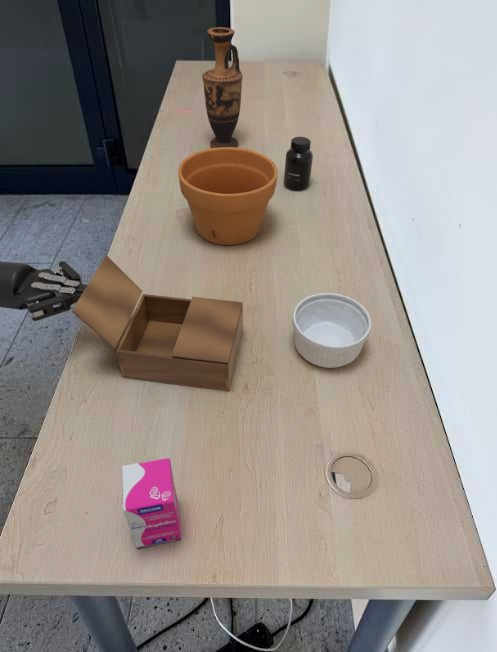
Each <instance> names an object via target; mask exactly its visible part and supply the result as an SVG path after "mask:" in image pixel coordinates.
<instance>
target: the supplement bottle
mask: <svg viewBox="0 0 497 652" xmlns="http://www.w3.org/2000/svg"><path fill="white" fill-rule="evenodd" d="M311 143H312V142H311V139H309V138H308V137H305V136H294V137H293V138H291V140H290V148H288V150H287V151H286V153H285V163H284V174H283V185H284V187H285V188H287V189H288V190H291V191H296V192H301V191H304V190H306V189H308V188H309V187H310V182H311V175H312V168H313V159H314V154H313V152H312V150H311Z"/></svg>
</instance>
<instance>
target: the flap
mask: <svg viewBox="0 0 497 652" xmlns="http://www.w3.org/2000/svg"><path fill="white" fill-rule="evenodd" d="M86 285H87V287H86V288H85V290H84V292H83V293H82V295H81V297H80V298H79V300H78V302H77V303H76V304H74V307H73V308H72V310H71V312H72V313H73V314H74V315H75V316H76V317H77V318H78V319H79V320H81V321H82V322H83V323H84V324H85V325H86V326H87V327H88V328H89V329H91V330H92V332H94V333H95V334H97V335H98V336H99V337H100V338H101V339H103V340H104V341H105V342H106V343H107V344H109V346H111V347H112V348H113V349H117V347H118V345H119V343H120V341H121V338H122V336H123V333H124V332H125V330H126V328H127V326H128V324H129V322H130V320H131V317H132V315H133V313H134V311H135V309H136V307H137V305H138V303H139V301H140V299H141V296H142V293H143V290H142V289H141V287H139V286H138V285H137V284H136V283H135V282H134V281H133V280H132V279H131V278H130V277H129V276H128V275H127V274H126V273H125V272H124V271H123V270H122V268H120V267H119V265H117V264H116V263H115V262H114V261H113V260H112V259H111V258H110V257H109V256H108V255H105V256H104V257H103V259H102V260H101V262H100V264H99V265H98V267H97V269H96V270H95V272H94V273H93V275H92V276H91V278H90V280H89V282H88V284H86Z"/></svg>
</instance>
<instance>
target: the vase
mask: <svg viewBox="0 0 497 652" xmlns="http://www.w3.org/2000/svg"><path fill="white" fill-rule="evenodd" d="M206 33H207V35H208V38H209V40H210V41H211V42H212V43H213V45H214V50H215V54H214V55H215V65H214V67H213V69H209V70H206V71H205V72H203V73H202V75H201V76H202V83H203V93H204V102H205V108H206V110H205V111H206V115H207V119H208V123H209V125H210V128H211V130H212V131H213V134H214V137H213V138H212V139H211V140H210V142H209V147H210V149H211V148H220V147H236V148H239V141H238V139H237V138H236V137H233V134H234V133H235V130H236V127H237V125H238V121H239V117H240V113H241V103H242V90H243V89H242V86H243V73H242V72H241V69H240V59H239V58H240V57H239V51H238V48H237V47H236V45H234V44H232V43H231V42H232V40H233V38H234V36H235V34H236V33H235V30H234V29H232V28H230V27H223V26H220V27H219V26H218V27H210V28H208V29H207V31H206ZM230 53H231V54H232V63H231V67H230Z"/></svg>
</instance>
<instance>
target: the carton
mask: <svg viewBox="0 0 497 652" xmlns="http://www.w3.org/2000/svg"><path fill="white" fill-rule="evenodd" d="M123 333H124V334H122V336H121V338H120V341H119V343H118V345H117V347H116V350H115V353H116V354H115V355H116V358H117V362H118V365H119V369H120V372H121V375H122V376H121V377H122V378H123V379H132V380H138V381H139V380H140V381H147V382H155V383H162V384H167V385H169V384H170V385H177V386H184V387H193V388H200V389H208V390H214V391H222V392H230V391H231V390H230V389H231V384H232V380H233V376H234V372H235V367H236V364H237V358H238V355H239V350H240V345H241V342H242V338H243V337H242V336H243V333H244V304H243V301H234V300H226V299H218V298H207V297H200V296H199V297H198V296H192V297H191V298H184V297H183V298H182V297H173V296H172V297H171V296H165V295H156V294H149V293H148V294H146V293H143V294H141V296H140V298H139V300H138V303H137V305H136V307H135V309H134V311H133V313H132V315H131V317H130V319H129V322H128V324H127V326H126V328H125V330H124V332H123Z"/></svg>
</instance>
